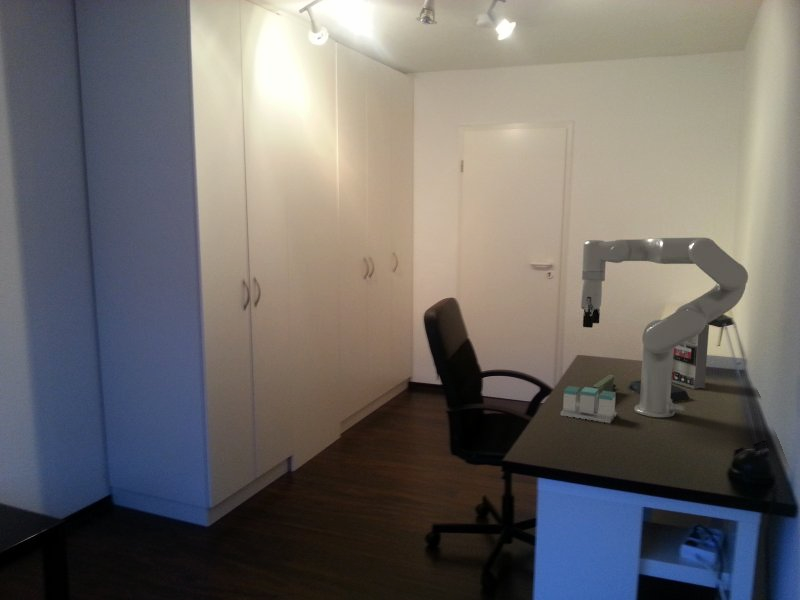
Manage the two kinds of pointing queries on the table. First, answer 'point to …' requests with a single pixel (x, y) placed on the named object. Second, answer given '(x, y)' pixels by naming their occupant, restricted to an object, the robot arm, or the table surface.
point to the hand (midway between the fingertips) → (591, 325)
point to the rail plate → (601, 415)
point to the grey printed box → (691, 361)
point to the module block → (589, 400)
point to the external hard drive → (676, 392)
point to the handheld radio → (605, 385)
